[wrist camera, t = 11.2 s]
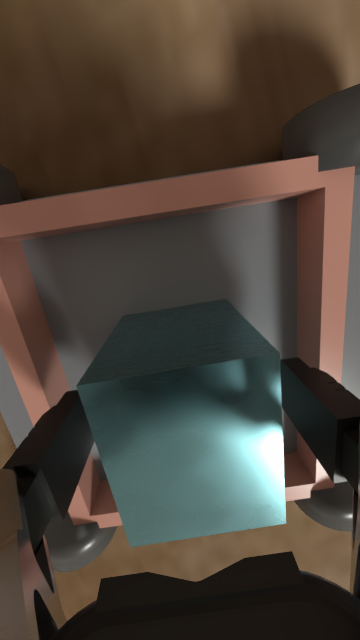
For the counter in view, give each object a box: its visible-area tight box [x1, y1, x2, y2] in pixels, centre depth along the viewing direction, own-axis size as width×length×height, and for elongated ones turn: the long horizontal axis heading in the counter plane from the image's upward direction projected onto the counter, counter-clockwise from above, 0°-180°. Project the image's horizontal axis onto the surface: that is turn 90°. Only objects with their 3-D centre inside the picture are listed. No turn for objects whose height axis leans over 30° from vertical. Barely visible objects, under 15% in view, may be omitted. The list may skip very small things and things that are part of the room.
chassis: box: [0, 84, 360, 572], centre depth 12 cm, size 20×19×4 cm
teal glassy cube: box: [76, 299, 286, 547], centre depth 10 cm, size 5×6×6 cm
